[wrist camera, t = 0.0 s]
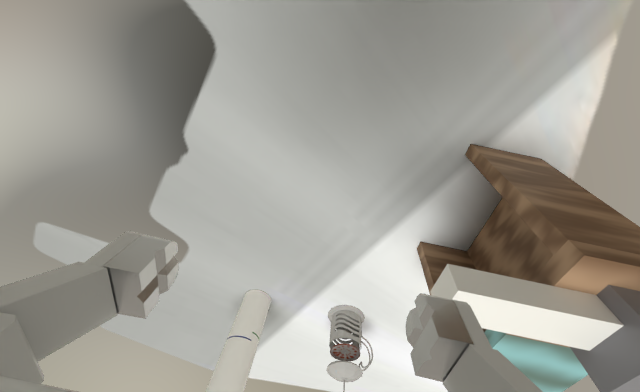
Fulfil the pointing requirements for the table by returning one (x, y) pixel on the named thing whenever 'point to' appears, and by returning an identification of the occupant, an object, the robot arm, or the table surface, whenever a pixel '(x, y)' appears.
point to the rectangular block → (557, 319)
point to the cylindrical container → (241, 344)
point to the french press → (346, 343)
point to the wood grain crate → (543, 251)
